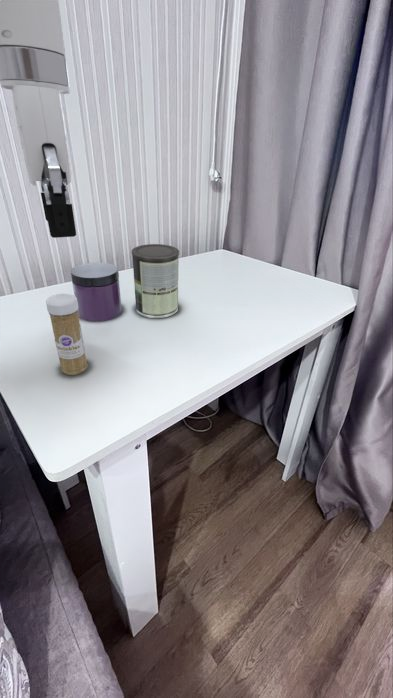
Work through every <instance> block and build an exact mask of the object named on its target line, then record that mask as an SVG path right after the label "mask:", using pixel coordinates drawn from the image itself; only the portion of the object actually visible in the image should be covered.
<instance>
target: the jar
mask: <svg viewBox="0 0 393 698" xmlns="http://www.w3.org/2000/svg"><path fill="white" fill-rule="evenodd" d="M71 285H72V290H73V295H74V296H75V297H76V298H77V302H78V315H79V319H81V320H84V321H87V322H105V321H109V320H110V321H111V320H113V319H115V318H117V317H119V316H120V315H121V314H122V311H123V310H122V309H123V308H122V298H121V287H120V277H118V280H117V281H115V282H113V283H111V284H108V285H104V286H95V287H89V286H81V285H77V284H75V283H74V282H73V281H72V280H71Z"/></svg>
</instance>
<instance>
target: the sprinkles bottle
mask: <svg viewBox="0 0 393 698" xmlns="http://www.w3.org/2000/svg"><path fill="white" fill-rule="evenodd" d="M45 304H46V310H47V313H48V315H49V317H50V321H51V327H52V333H53V336H54V337H53V338H54V344H55V348H56V353H57V357H58V359H59V363H60V371H61V372H62V373H63V374H64V375H69V376H75V375H80V374H82V373H83V372H85V371H86V370H87V369H88V366H89V365H88V362H87V357H86V349H85V345H84V343H85V342H84V338H83V331H82V326H81V323H80V317H79V315H78V302H77V298H76V297H75V296H74V294H72V293H66V292H65V293H56V294H53V295H50V296H49V297H47V299H46V300H45Z"/></svg>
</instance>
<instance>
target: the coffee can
mask: <svg viewBox="0 0 393 698" xmlns="http://www.w3.org/2000/svg"><path fill="white" fill-rule="evenodd" d="M131 256H132V267H133V268H132V270H133V284H134V297H135V298H134V299H135V311H136V313H137V314H138V315H140V316H141V317H145V318H148V319H163V318H164V319H165V318H169V317H172V316H174V315H175V314H176V313H177V312H178V311H179V256H180V250H179V249H178V248H177V247H176V246H172V245H169V244H163V243H162V244H159V243H149V244H148V243H147V244H141V245H137V246H135V247H134V248H132V249H131Z"/></svg>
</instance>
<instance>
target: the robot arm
mask: <svg viewBox="0 0 393 698" xmlns="http://www.w3.org/2000/svg"><path fill="white" fill-rule="evenodd" d="M62 25H63V24H62V18H61V11H60V3H59V0H0V88H2V89H5V90H10V91H11V93H12V101H13V107H14V114H15V119H16V120H15V121H16V125H17V129H18V134H19V138H20V144H21V145H20V146H21V149H22V152H23V159H24V164H25V168H26V172H27V177H28V180H29V184H31V185H32V186H33V187H35V186H37V183H36V182H39V183H40V188H41V192H40V197H41V203H42V207H43V213H44V218H45V220H46V221H47V225H48V230H49V235H50V237H51V238H53V239H57V238H58V239H59V238H73V237H76V236H77V230H76V222H75V215H74V208H73V204H72V203H71V198H70V193H69V188H68V186H69V185H70V184H71V183H72V173H71V164H70V154H69V147H68V138H67V130H66V123H65V116H64V115H65V114H64V110H63V109H64V108H63V103H62V95H69V94H71V88H70V79H69V72H68V64H67V58H66V48H65V41H64V34H63V26H62Z"/></svg>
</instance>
